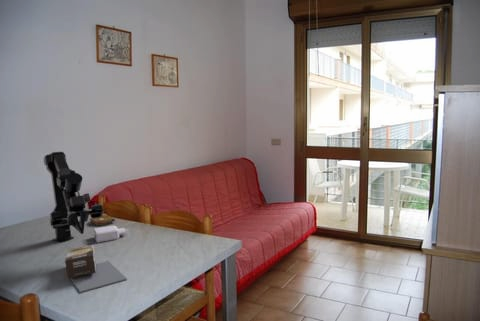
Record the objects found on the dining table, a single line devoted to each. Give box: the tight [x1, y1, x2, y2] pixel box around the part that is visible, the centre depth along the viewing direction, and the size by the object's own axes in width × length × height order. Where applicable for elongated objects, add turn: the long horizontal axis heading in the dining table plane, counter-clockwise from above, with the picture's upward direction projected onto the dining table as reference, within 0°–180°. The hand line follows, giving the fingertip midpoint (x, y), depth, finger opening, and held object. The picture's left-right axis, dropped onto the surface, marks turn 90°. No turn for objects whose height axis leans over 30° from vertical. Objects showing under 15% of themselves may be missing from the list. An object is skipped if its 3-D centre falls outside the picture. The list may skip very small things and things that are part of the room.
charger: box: [93, 225, 130, 243], centre depth 172 cm, size 5×9×15 cm
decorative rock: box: [89, 213, 116, 227], centre depth 197 cm, size 11×4×15 cm
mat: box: [65, 260, 128, 294], centre depth 130 cm, size 20×15×1 cm
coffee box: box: [64, 244, 97, 279], centre depth 134 cm, size 9×6×16 cm
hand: (82, 233), depth 140 cm, fingers closed
